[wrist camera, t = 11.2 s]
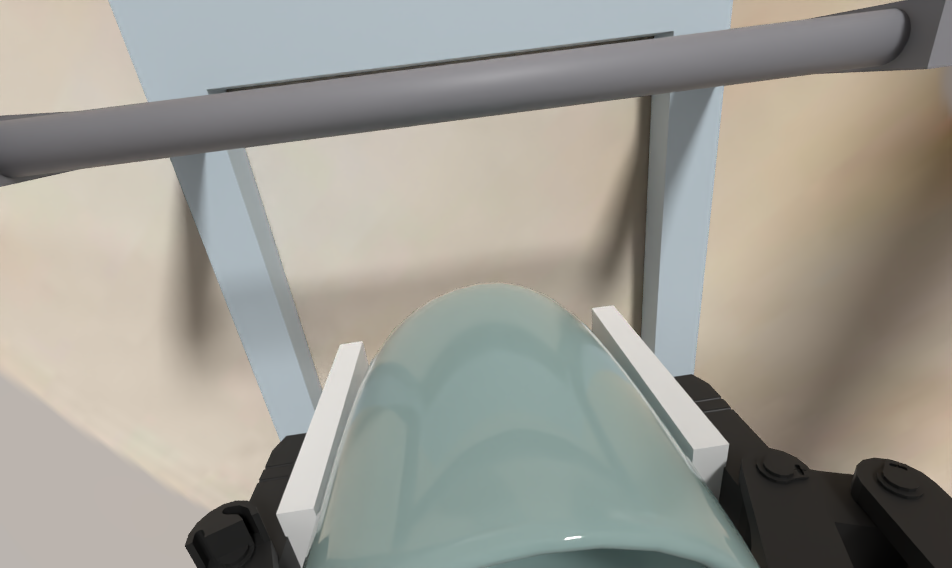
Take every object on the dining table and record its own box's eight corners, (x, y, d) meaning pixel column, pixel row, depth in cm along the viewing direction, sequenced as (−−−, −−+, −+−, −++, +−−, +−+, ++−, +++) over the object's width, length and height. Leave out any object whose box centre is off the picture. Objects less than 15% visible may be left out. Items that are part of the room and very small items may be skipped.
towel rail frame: (122, -36, 14) (-419, -252, 5) (717, -106, 15) (1155, -411, 6) (305, 462, 23) (221, 699, 14) (673, 407, 24) (819, 602, 15)
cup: (439, 467, 18) (443, 871, 9) (324, 318, 15) (138, 695, 5) (618, 385, 17) (838, 736, 8) (535, 207, 14) (733, 436, 5)
